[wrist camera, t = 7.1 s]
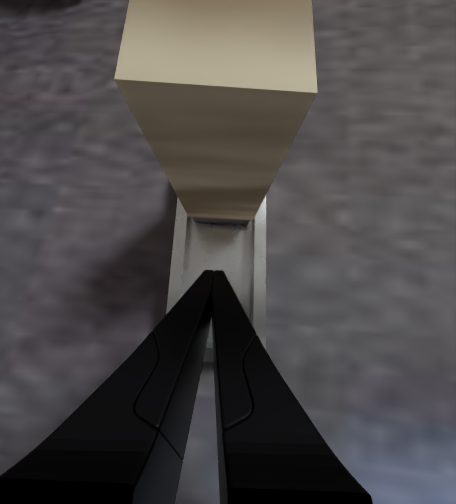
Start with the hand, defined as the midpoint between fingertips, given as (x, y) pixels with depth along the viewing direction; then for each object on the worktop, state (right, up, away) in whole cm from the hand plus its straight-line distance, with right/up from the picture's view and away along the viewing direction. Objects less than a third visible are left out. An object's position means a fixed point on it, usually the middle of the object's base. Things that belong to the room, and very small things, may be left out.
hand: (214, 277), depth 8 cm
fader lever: (0, +6, +8) cm, 10 cm away
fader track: (0, +1, +9) cm, 9 cm away
